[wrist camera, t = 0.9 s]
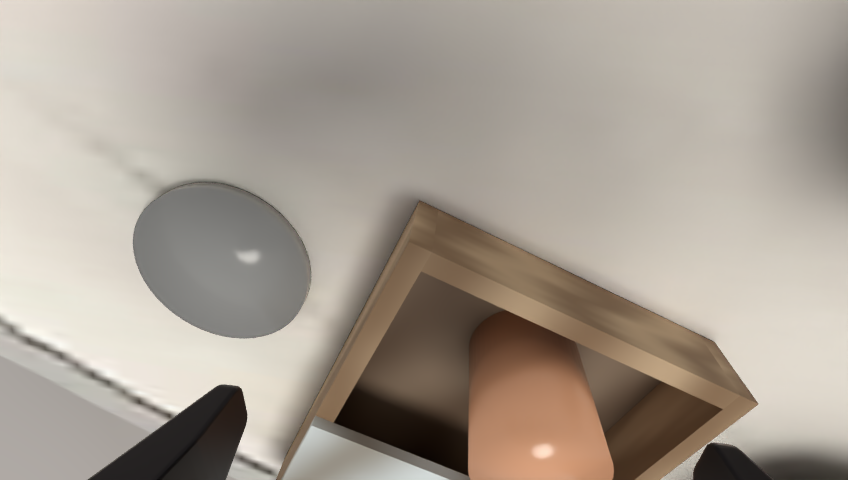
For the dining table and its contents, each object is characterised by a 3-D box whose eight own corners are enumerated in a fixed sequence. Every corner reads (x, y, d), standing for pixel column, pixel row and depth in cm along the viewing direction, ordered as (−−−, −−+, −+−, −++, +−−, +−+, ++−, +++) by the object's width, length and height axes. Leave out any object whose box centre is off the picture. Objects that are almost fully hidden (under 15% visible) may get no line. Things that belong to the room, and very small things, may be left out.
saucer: (334, 231, 22) (330, 239, 21) (283, 351, 26) (278, 360, 25) (156, 150, 21) (145, 155, 20) (133, 289, 25) (123, 297, 24)
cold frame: (714, 342, 23) (766, 415, 19) (495, 540, 33) (498, 614, 29) (419, 200, 21) (406, 249, 17) (283, 460, 31) (255, 528, 27)
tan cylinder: (598, 335, 23) (645, 459, 17) (538, 401, 25) (559, 529, 19) (502, 291, 22) (515, 404, 16) (450, 363, 25) (444, 484, 18)
